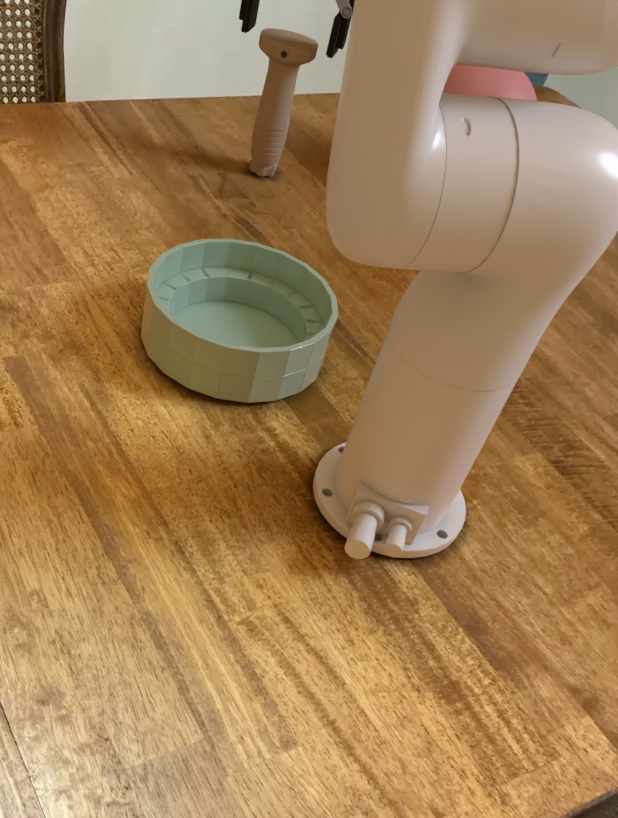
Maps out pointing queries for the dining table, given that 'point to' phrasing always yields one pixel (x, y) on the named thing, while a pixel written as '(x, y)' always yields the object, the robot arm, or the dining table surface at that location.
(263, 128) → the handle
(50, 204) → the dining table surface
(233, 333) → the bowl
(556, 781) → the dining table surface
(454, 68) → the balloon
